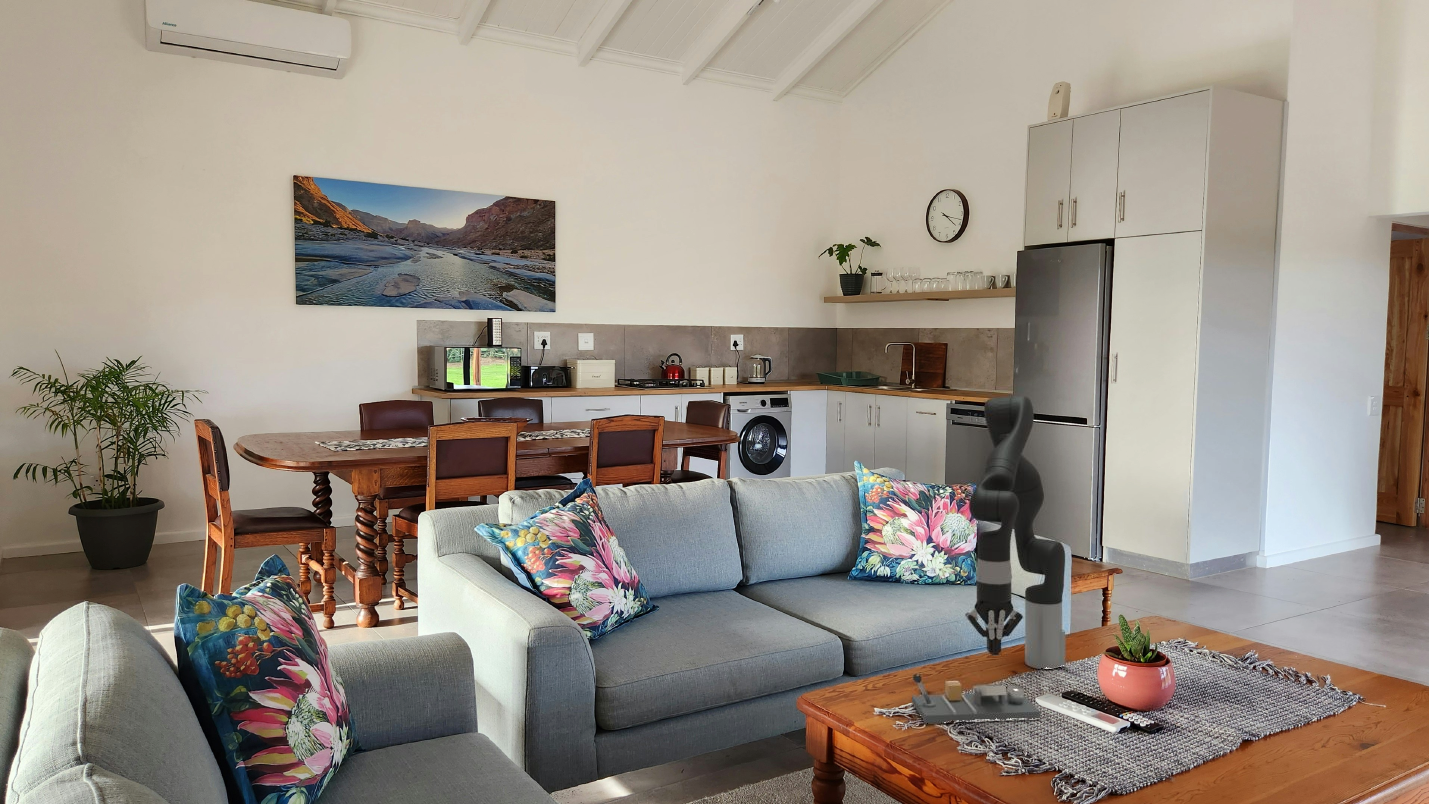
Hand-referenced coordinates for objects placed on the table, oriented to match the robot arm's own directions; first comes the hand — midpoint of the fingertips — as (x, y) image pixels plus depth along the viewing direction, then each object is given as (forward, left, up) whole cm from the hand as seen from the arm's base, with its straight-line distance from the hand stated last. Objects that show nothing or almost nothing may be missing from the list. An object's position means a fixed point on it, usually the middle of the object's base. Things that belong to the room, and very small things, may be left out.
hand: (993, 654), depth 212 cm
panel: (+3, -4, -15) cm, 15 cm away
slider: (+7, -7, -13) cm, 16 cm away
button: (-6, -4, -13) cm, 14 cm away
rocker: (0, -4, -10) cm, 10 cm away
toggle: (+14, -4, -12) cm, 19 cm away
